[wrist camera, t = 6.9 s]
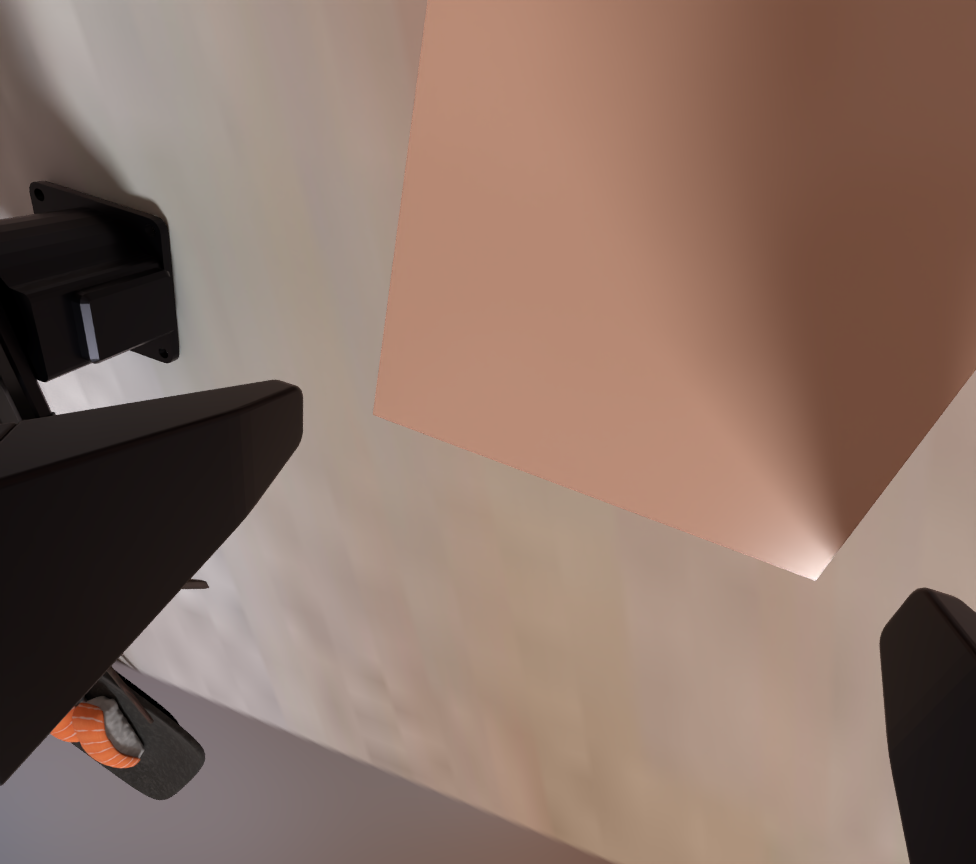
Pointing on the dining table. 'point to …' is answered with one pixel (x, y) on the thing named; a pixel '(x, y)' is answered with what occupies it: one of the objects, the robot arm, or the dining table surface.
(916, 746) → the robot arm
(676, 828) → the dining table surface
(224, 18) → the dining table surface
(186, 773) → the sushi plate
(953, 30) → the terracotta tile
